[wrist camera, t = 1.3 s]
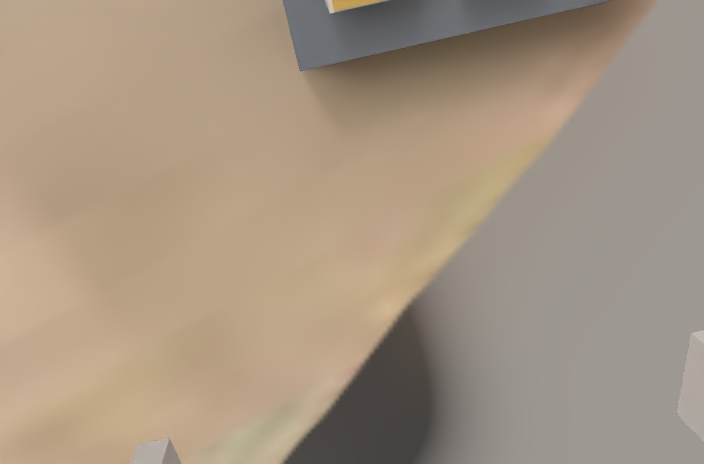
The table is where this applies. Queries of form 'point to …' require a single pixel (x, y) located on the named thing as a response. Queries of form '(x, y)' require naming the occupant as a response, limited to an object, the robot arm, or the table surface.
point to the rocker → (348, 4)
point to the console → (400, 24)
